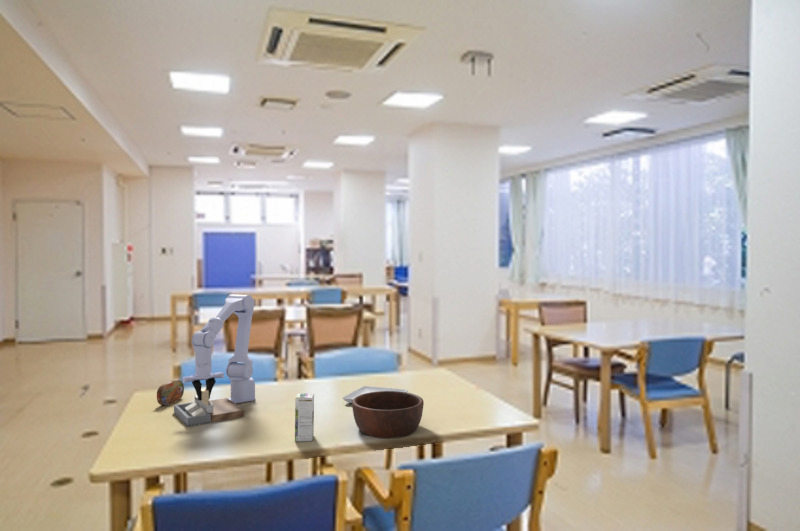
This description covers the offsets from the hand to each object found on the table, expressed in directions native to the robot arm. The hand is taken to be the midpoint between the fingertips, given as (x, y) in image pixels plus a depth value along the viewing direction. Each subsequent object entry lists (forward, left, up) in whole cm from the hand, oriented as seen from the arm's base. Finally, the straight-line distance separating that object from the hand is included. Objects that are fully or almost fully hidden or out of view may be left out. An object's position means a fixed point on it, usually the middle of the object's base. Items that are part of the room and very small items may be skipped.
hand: (203, 399), depth 201 cm
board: (-6, 0, -6) cm, 9 cm away
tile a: (+3, -5, -5) cm, 7 cm away
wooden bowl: (-48, +53, -7) cm, 72 cm away
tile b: (+3, +4, -5) cm, 7 cm away
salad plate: (-64, +21, -7) cm, 68 cm away
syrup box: (-20, +45, -6) cm, 50 cm away
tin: (+6, -26, -6) cm, 27 cm away
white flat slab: (0, 0, -3) cm, 3 cm away
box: (+4, 0, -6) cm, 8 cm away
